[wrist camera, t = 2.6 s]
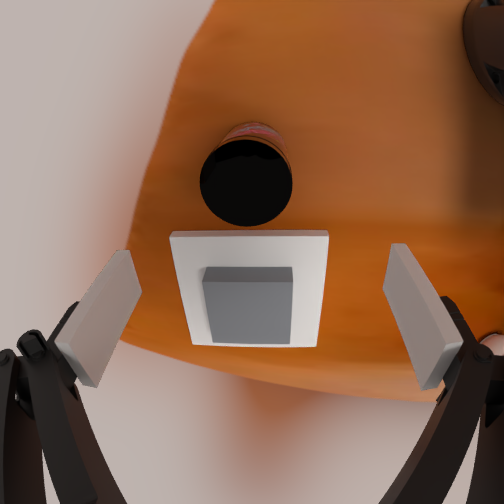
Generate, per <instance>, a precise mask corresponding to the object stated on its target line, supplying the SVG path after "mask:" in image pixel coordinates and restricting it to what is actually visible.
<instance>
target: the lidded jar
mask: <svg viewBox="0 0 504 504" xmlns="http://www.w3.org/2000/svg"><path fill="white" fill-rule="evenodd" d="M480 344H484V345H486V346H487V347H489V348H490V349H491V350H492V352H493V354H494V355H500V356H504V335H498V334H492V335H489V336H488V337H486V338H485V339H483V340H482V341H481V342H480Z"/></svg>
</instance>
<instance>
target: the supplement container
mask: <svg viewBox="0 0 504 504" xmlns="http://www.w3.org/2000/svg"><path fill="white" fill-rule="evenodd" d="M200 190H201V194H202V197H203V199H204V201H205V203H206V205H207V206H208V208H209V209H210V210H211V211H212V212H213V213H214V214H215V215H216V216H217V217H219V218H220V219H222V220H224V221H226V222H228V223H230V224H233V225H237V226H246V227H247V226H257V225H261V224H264V223H267V222H269V221H271V220H272V219H274V218H275V217H277V216H278V215H279V214H280V213H281V212H282V211H283V210H284V208H285V207H286V205H287V204H288V202H289V199H290V197H291V193H292V173H291V168H290V165H289V161H288V155H287V150H286V145H285V142H284V140H283V138H282V137H281V135H280V134H279V133H278V132H277V131H276V130H275V129H274V128H272V127H270V126H269V125H266V124H264V123H260V122H247V123H243V124H240V125H238V126H236V127H235V128H233V129H232V130H231V131H230V132H229V133H228V134H227V135H226V136H225V138H224V139H223V140H222V141H221V142H220V144H219V145H218V146H217V147H216V148H215V149H214V150H213V151H212V152H211V154H210V155H209V157H208V158H207V159H206V161H205V163H204V165H203V167H202V170H201V174H200Z"/></svg>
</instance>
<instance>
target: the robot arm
mask: <svg viewBox="0 0 504 504" xmlns="http://www.w3.org/2000/svg"><path fill="white" fill-rule="evenodd" d="M463 33H464V42H465V47H466V51H467V54H468V58H469V61H470V63H471V66H472V68H473V70H474V72H475V74H476V76H477V78H478V80H479V81H480V83H481V84H482V86H483V87H484V88H485V90H486V91H487V92H488V93H489V94H490V95H491V96H492V97H493V98H494V99H495V100H496V101H497V102H499V103H500V104H502V105H504V0H473V1H472V2H471V3H470V4H469V6H468V8H467V10H466V13H465V16H464V24H463ZM383 291H384V293H385V295H386V298H387V300H388V302H389V305H390V307H391V310H392V312H393V315H394V317H395V320H396V322H397V325H398V327H399V330H400V332H401V335H402V338H403V340H404V343H405V345H406V348H407V351H408V354H409V356H410V359H411V362H412V365H413V368H414V371H415V374H416V376H417V379H418V382H419V385H420V389H421V391H422V390H427V389H433V388H437V387H438V385H439V384H440V382H441V381H442V379H443V381H444V383H445V388H444V389H443V391H442V392H441V394H440V395H439V397H438V398H437V400H436V401H437V404H436V407H435V409H434V411H433V413H432V415H431V417H430V419H429V421H428V423H427V425H426V427H425V429H424V431H423V433H422V435H421V437H420V438H419V440H418V442H417V444H416V446H415V447H414V449H413V451H412V453H411V455H410V456H409V458H408V459H407V461H406V463H405V465H404V466H403V468H402V469H401V471H400V473H399V474H398V476H397V477H396V479H395V480H394V482H393V483H392V485H391V486H390V488H389V489H388V491H387V492H386V494H385V495H384V497H383V498H382V499H381V501H380V502H379V504H442V503H443V501H444V499H445V497H446V495H447V493H448V491H449V489H450V487H451V485H452V483H453V481H454V479H455V477H456V475H457V473H458V471H459V469H460V466H461V464H462V462H463V459H464V457H465V455H466V452H467V450H468V447H469V445H470V442H471V440H472V437H473V434H474V432H475V429H476V426H477V423H478V420H479V417H480V427H479V436H478V444H477V451H476V457H475V463H474V469H473V474H472V479H471V485H470V489H469V493H468V498H467V501H466V504H504V356H500V355H494V354H493V352H492V350H491V349H490V348H489V347H487V346H486V345H484V344H480V343H477V341H476V339H475V337H474V335H473V333H472V332H471V330H470V328H469V326H468V324H467V323H466V321H465V320H464V318H463V316H462V314H461V313H460V311H459V309H458V307H457V306H456V304H455V303H454V302H453V301H452V300H451V299H450V298H448V297H447V296H442V297H439V296H438V294H437V292H436V291H435V289H434V287H433V286H432V284H431V282H430V281H429V279H428V278H427V276H426V274H425V273H424V271H423V270H422V268H421V266H420V265H419V263H418V262H417V260H416V259H415V257H414V256H413V254H412V253H411V251H410V250H409V248H408V247H407V245H406V244H405V243H400V244H392V245H391V250H390V255H389V261H388V266H387V271H386V275H385V280H384V285H383ZM141 294H142V290H141V287H140V284H139V281H138V277H137V274H136V271H135V268H134V264H133V261H132V257H131V254H130V250H117V251H116V252H115V253H114V255H113V256H112V258H111V259H110V260H109V261H108V263H107V264H106V265H105V267H104V268H103V270H102V271H101V272H100V274H99V275H98V277H97V278H96V279H95V281H94V282H93V284H92V285H91V286H90V288H89V289H88V291H87V292H86V293H85V295H84V296H83V298H82V299H81V301H80V302H75V303H74V304H73V305H72V306H71V307H69V308H68V310H67V311H66V313H65V314H64V316H63V317H62V319H61V320H60V322H59V324H58V325H57V326H56V328H55V329H54V331H53V332H52V334H51V335H50V337H49V339H48V340H47V342H46V340H45V338H44V337H43V335H42V333H41V332H40V331H39V330H30V331H27V332H26V333H24V334H23V335H22V336H21V337H20V338H19V340H18V342H17V348H18V349H19V350H20V352H21V354H22V355H23V356H18V357H17V356H16V355H15V353H14V352H13V350H11V349H4V350H2V351H0V504H47V503H46V495H45V487H44V475H43V461H42V449H43V453H44V457H45V460H46V464H47V467H48V470H49V473H50V476H51V480H52V483H53V485H54V488H55V491H56V494H57V496H58V499H59V502H60V504H127V503H126V501H125V499H124V497H123V495H122V493H121V492H120V490H119V488H118V486H117V484H116V482H115V480H114V478H113V476H112V474H111V472H110V470H109V467H108V465H107V463H106V461H105V459H104V457H103V454H102V452H101V450H100V447H99V445H98V443H97V440H96V438H95V435H94V433H93V430H92V428H91V425H90V423H89V420H88V417H87V415H86V412H85V409H84V407H83V403H82V401H81V397H80V394H79V391H78V388H77V386H76V385H75V383H74V382H75V380H76V378H77V377H78V379H79V380H80V382H81V383H82V384H83V385H85V386H90V387H95V388H97V387H98V384H99V382H100V380H101V377H102V375H103V373H104V371H105V368H106V366H107V364H108V362H109V360H110V357H111V355H112V353H113V351H114V348H115V347H116V344H117V342H118V340H119V338H120V336H121V334H122V332H123V330H124V328H125V326H126V324H127V322H128V320H129V318H130V316H131V314H132V311H133V309H134V308H135V306H136V304H137V302H138V300H139V298H140V296H141ZM15 394H16V395H17V397H16V399H15ZM480 414H481V415H480Z"/></svg>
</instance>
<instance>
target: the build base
mask: <svg viewBox="0 0 504 504" xmlns="http://www.w3.org/2000/svg"><path fill="white" fill-rule="evenodd" d="M169 239H170V244H171V249H172V254H173V259H174V264H175V269H176V274H177V279H178V283H179V288H180V292H181V297H182V301H183V306H184V310H185V314H186V318H187V323H188V327H189V331H190V335H191V339H192V343H193V344H196V345H214V346H240V347H316V342H317V335H318V328H319V321H320V314H321V306H322V298H323V290H324V282H325V273H326V263H327V253H328V243H329V234H328V231H327V230H208V231H173V232H172V233H171V235H170V237H169Z"/></svg>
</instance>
